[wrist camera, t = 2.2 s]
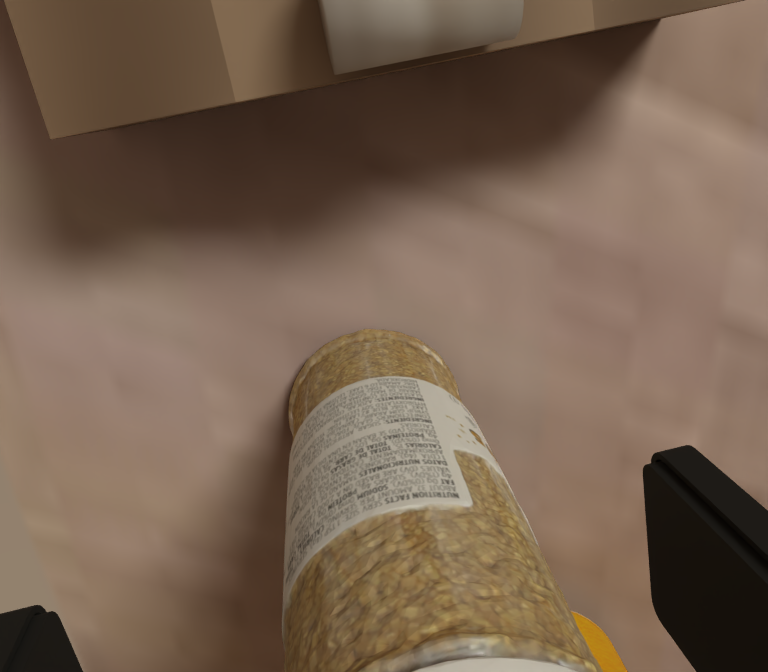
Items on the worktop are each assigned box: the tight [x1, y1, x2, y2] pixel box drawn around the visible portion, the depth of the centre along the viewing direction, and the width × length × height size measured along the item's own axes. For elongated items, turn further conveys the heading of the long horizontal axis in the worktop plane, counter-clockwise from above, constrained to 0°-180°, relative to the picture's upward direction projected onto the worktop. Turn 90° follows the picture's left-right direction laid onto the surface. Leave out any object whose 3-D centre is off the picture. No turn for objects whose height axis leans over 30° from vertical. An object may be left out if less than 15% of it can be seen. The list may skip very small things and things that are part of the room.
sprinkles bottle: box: [282, 329, 603, 672], centre depth 13 cm, size 5×5×14 cm
